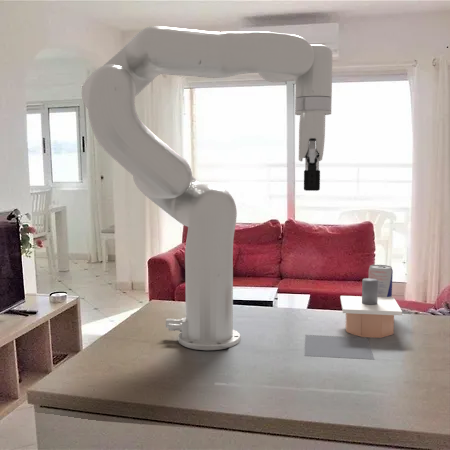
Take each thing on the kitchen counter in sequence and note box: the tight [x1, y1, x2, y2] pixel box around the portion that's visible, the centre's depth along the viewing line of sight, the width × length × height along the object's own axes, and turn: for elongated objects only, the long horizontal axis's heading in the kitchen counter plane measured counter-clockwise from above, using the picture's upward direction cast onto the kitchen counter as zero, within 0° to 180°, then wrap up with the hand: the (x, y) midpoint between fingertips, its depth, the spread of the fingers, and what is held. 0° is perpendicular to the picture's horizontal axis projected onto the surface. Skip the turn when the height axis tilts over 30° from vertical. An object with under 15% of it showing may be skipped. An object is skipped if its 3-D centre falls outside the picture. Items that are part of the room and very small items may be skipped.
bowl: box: [344, 313, 395, 339], centre depth 118 cm, size 10×10×6 cm
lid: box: [339, 277, 403, 316], centre depth 117 cm, size 12×12×6 cm
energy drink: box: [367, 264, 394, 298], centre depth 129 cm, size 5×5×12 cm
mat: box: [304, 334, 375, 361], centre depth 108 cm, size 13×13×1 cm
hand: (311, 189), depth 118 cm, fingers open, 9 cm apart
